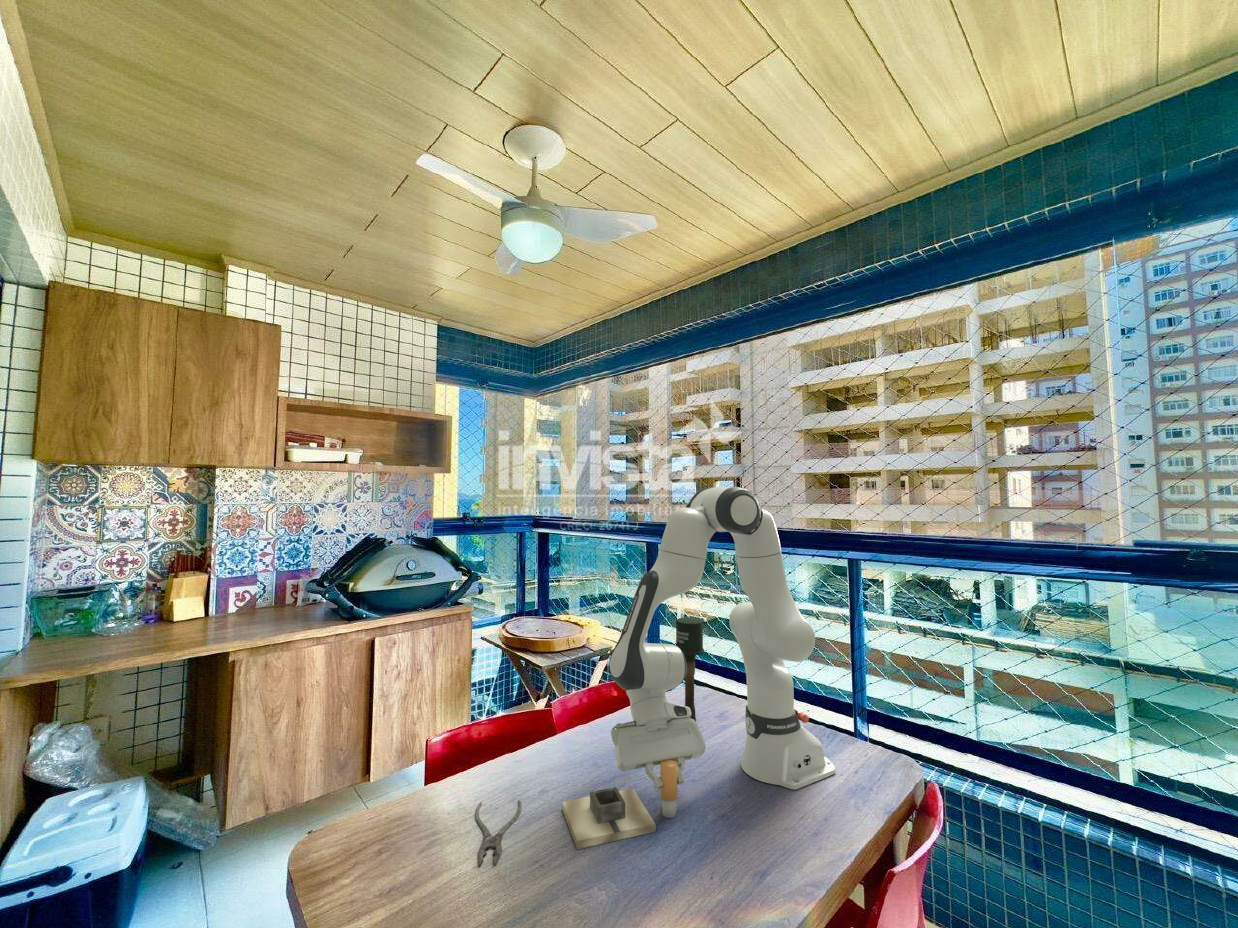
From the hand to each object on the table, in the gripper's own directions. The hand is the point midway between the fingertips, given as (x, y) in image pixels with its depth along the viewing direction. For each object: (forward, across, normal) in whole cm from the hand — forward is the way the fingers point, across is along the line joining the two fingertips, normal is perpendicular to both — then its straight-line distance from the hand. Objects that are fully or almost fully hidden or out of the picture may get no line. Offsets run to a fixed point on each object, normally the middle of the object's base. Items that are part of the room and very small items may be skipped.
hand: (670, 785), depth 106 cm
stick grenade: (-22, +23, +30) cm, 44 cm away
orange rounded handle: (+4, 0, +5) cm, 6 cm away
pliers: (0, -34, +9) cm, 35 cm away
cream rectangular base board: (+2, -13, +6) cm, 15 cm away
